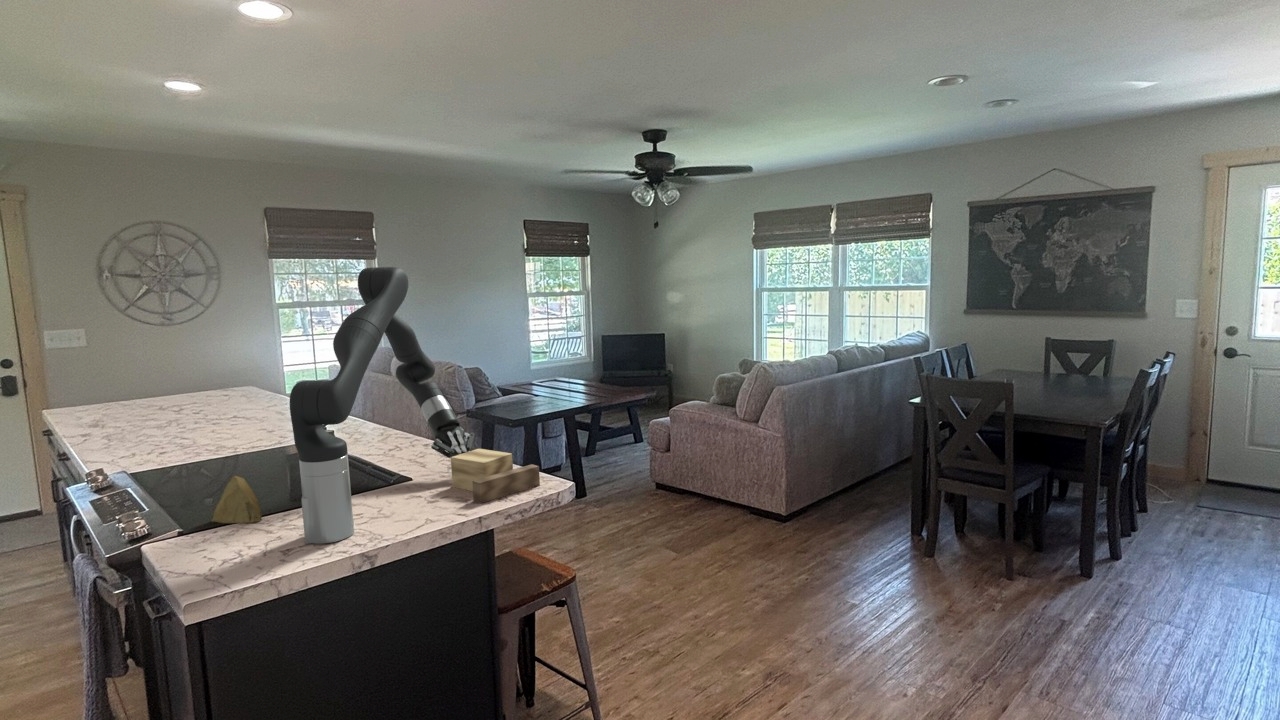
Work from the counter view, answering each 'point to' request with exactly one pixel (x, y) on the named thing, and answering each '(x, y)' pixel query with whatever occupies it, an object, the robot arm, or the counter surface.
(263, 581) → the counter surface
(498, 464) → the oak block
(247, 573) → the counter surface
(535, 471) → the walnut board
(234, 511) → the rock
